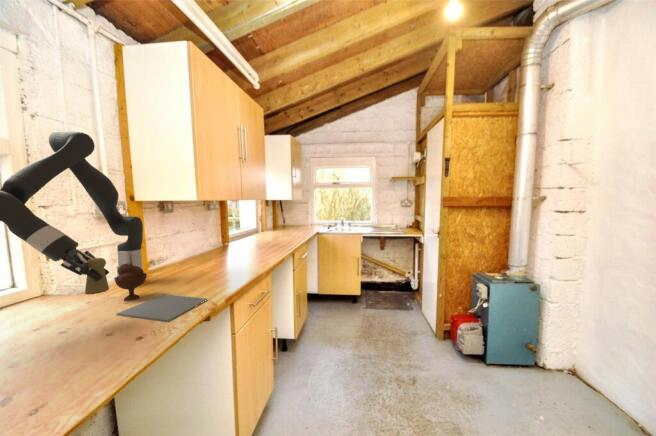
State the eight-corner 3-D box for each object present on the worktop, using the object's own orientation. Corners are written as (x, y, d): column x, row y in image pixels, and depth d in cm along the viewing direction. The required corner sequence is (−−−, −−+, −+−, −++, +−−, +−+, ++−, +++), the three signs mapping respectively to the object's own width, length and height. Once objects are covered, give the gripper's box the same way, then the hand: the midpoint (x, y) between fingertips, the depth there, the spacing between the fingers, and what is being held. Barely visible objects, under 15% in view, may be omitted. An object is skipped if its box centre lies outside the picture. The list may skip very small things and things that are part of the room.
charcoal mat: (116, 315, 94) (116, 313, 94) (163, 295, 113) (163, 294, 113) (168, 321, 89) (168, 320, 89) (207, 300, 108) (207, 298, 108)
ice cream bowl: (131, 304, 103) (129, 267, 102) (108, 302, 105) (106, 265, 104) (153, 295, 114) (152, 260, 113) (132, 293, 116) (131, 259, 115)
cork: (108, 286, 91) (106, 255, 91) (109, 291, 87) (108, 258, 86) (84, 290, 87) (82, 258, 86) (85, 295, 83) (83, 261, 82)
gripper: (50, 237, 76) (105, 273, 82) (74, 231, 89) (120, 263, 95) (27, 257, 74) (84, 292, 80) (55, 248, 88) (102, 279, 93)
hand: (103, 276), depth 88 cm, fingers closed on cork, 4 cm apart
